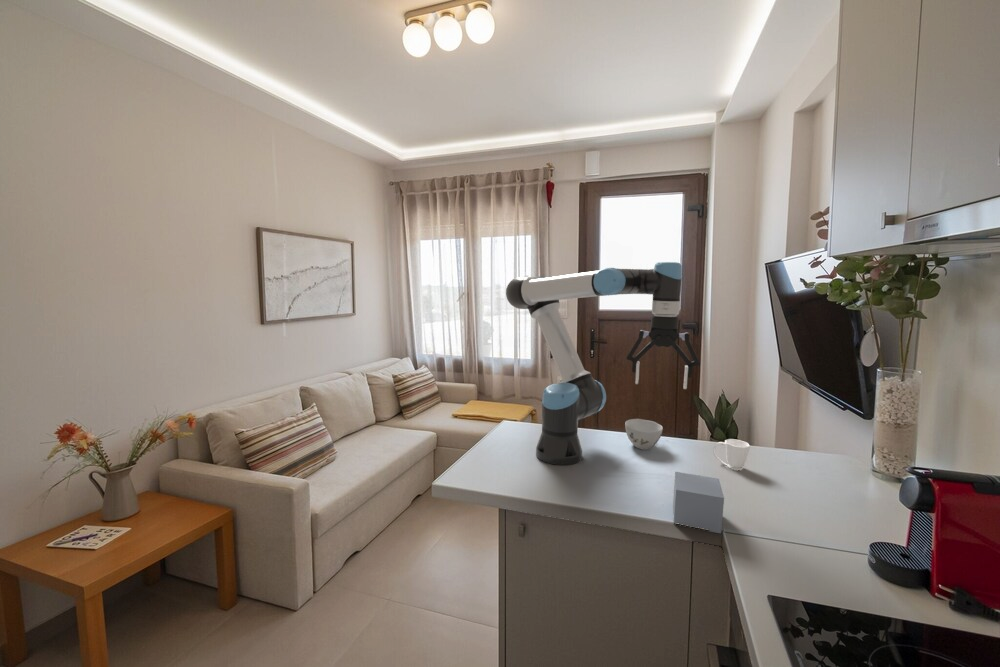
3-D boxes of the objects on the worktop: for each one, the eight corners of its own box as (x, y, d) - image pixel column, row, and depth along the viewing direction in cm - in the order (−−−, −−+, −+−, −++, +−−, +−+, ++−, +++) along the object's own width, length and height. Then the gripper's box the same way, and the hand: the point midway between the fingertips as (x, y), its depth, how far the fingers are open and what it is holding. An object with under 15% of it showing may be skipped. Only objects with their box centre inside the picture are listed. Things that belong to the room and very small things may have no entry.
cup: (745, 474, 128) (747, 449, 127) (709, 465, 134) (711, 440, 133) (750, 467, 133) (752, 442, 132) (715, 458, 140) (717, 434, 139)
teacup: (649, 457, 140) (650, 433, 139) (616, 445, 149) (617, 423, 148) (671, 445, 150) (673, 423, 149) (639, 435, 159) (640, 414, 158)
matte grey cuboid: (673, 524, 102) (676, 489, 101) (673, 503, 111) (675, 471, 110) (721, 533, 98) (724, 498, 97) (716, 511, 108) (718, 478, 106)
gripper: (620, 314, 126) (616, 383, 129) (713, 318, 117) (707, 393, 120) (622, 312, 133) (619, 378, 136) (711, 316, 124) (705, 386, 126)
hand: (660, 385), depth 128 cm, fingers open, 13 cm apart
